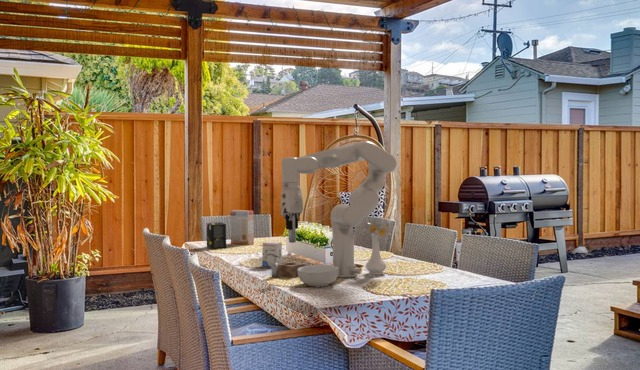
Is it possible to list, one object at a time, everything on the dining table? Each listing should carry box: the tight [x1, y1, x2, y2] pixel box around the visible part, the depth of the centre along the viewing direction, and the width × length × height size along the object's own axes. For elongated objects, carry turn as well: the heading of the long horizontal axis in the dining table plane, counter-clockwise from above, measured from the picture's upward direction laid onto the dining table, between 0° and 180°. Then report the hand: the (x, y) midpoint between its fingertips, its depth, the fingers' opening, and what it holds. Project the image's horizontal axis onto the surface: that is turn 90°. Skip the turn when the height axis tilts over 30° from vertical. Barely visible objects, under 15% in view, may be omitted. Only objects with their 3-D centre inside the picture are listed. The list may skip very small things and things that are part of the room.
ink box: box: [261, 240, 283, 268], centre depth 290 cm, size 9×5×12 cm, turn 62°
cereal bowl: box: [297, 264, 339, 288], centre depth 244 cm, size 17×17×7 cm
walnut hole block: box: [278, 261, 305, 278], centre depth 266 cm, size 10×8×5 cm
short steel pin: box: [270, 263, 279, 278], centre depth 262 cm, size 3×3×6 cm
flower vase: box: [360, 217, 393, 276], centre depth 267 cm, size 13×18×25 cm
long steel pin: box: [288, 212, 297, 244], centre depth 255 cm, size 3×3×14 cm
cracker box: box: [229, 209, 255, 246], centre depth 367 cm, size 14×6×21 cm, turn 58°
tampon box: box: [206, 221, 227, 250], centre depth 352 cm, size 11×9×15 cm
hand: (292, 228), depth 255 cm, fingers closed on long steel pin, 3 cm apart
